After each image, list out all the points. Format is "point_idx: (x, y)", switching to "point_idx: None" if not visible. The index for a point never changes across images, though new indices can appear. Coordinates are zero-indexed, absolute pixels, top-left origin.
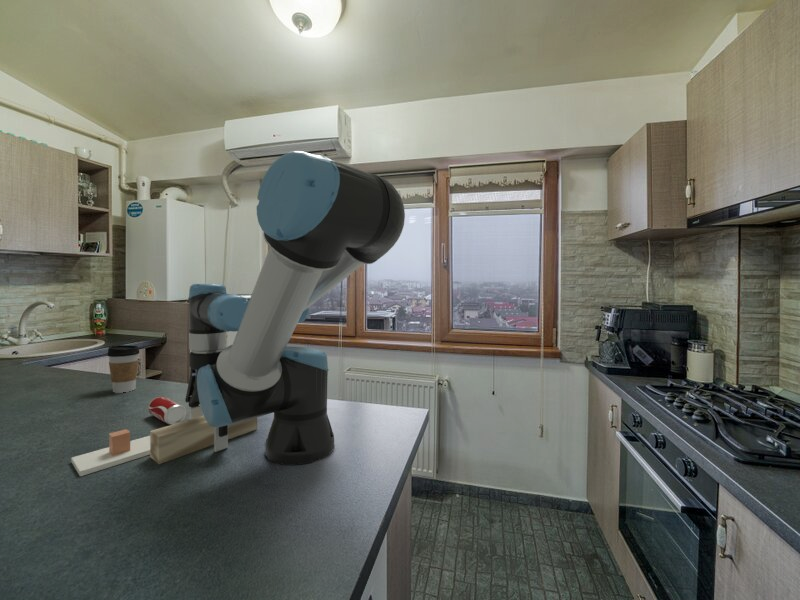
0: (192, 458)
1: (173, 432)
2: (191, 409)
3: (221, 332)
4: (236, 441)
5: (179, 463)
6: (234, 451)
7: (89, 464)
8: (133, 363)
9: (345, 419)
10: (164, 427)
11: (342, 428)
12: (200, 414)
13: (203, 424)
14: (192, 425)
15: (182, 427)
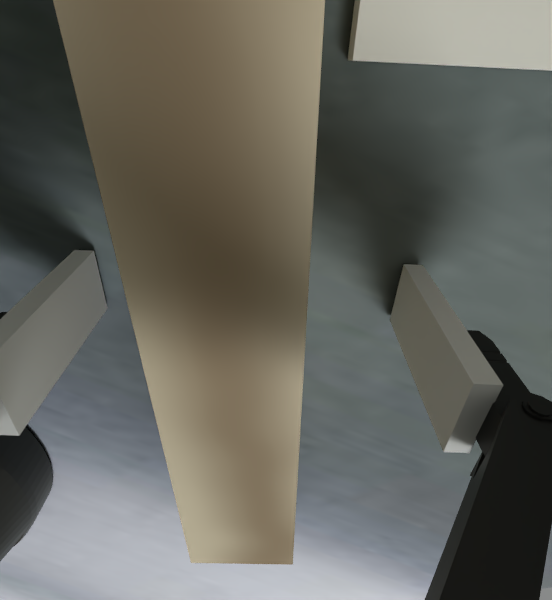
0: (83, 132)
1: (64, 34)
2: (467, 379)
3: None
4: None
5: (58, 41)
6: None
7: None
8: None
9: (76, 589)
10: (306, 23)
11: (12, 561)
12: (424, 385)
13: (135, 314)
14: (147, 249)
15: (154, 167)
